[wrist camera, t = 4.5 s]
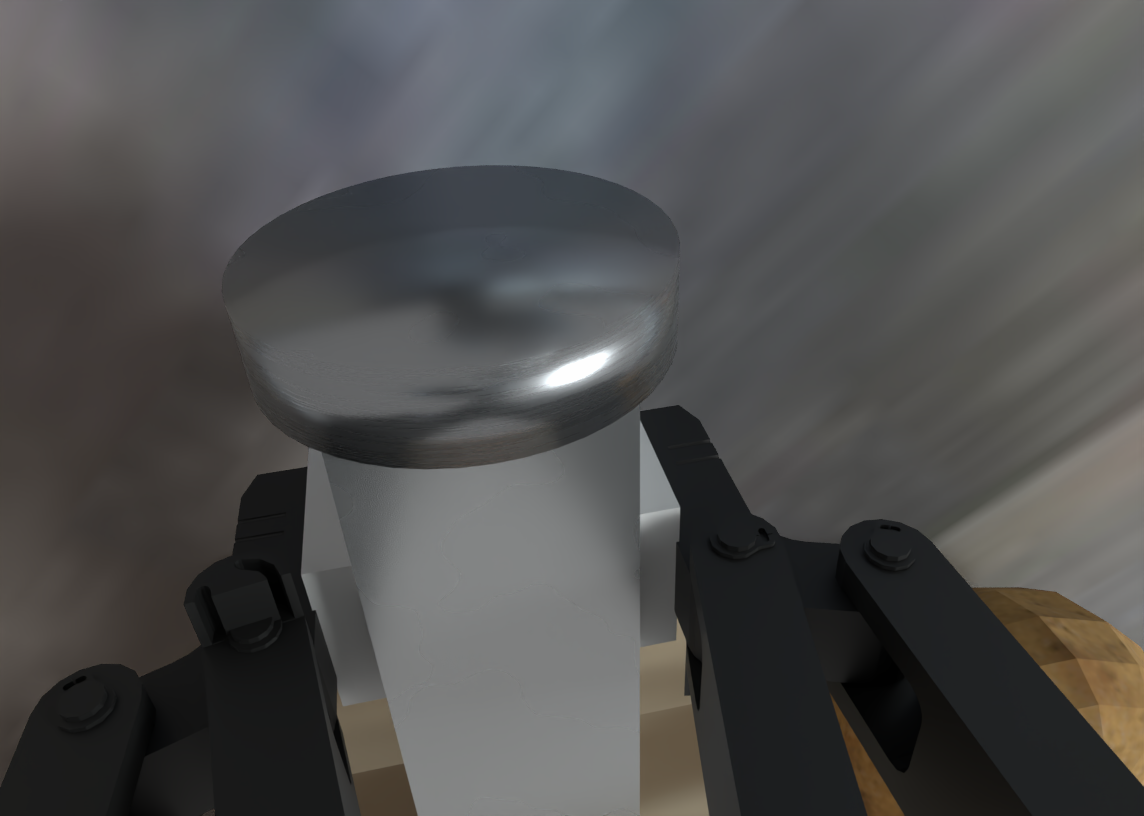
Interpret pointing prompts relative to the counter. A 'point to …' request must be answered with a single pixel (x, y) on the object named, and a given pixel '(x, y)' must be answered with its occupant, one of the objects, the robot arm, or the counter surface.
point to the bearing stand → (665, 744)
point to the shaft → (480, 457)
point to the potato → (1070, 659)
